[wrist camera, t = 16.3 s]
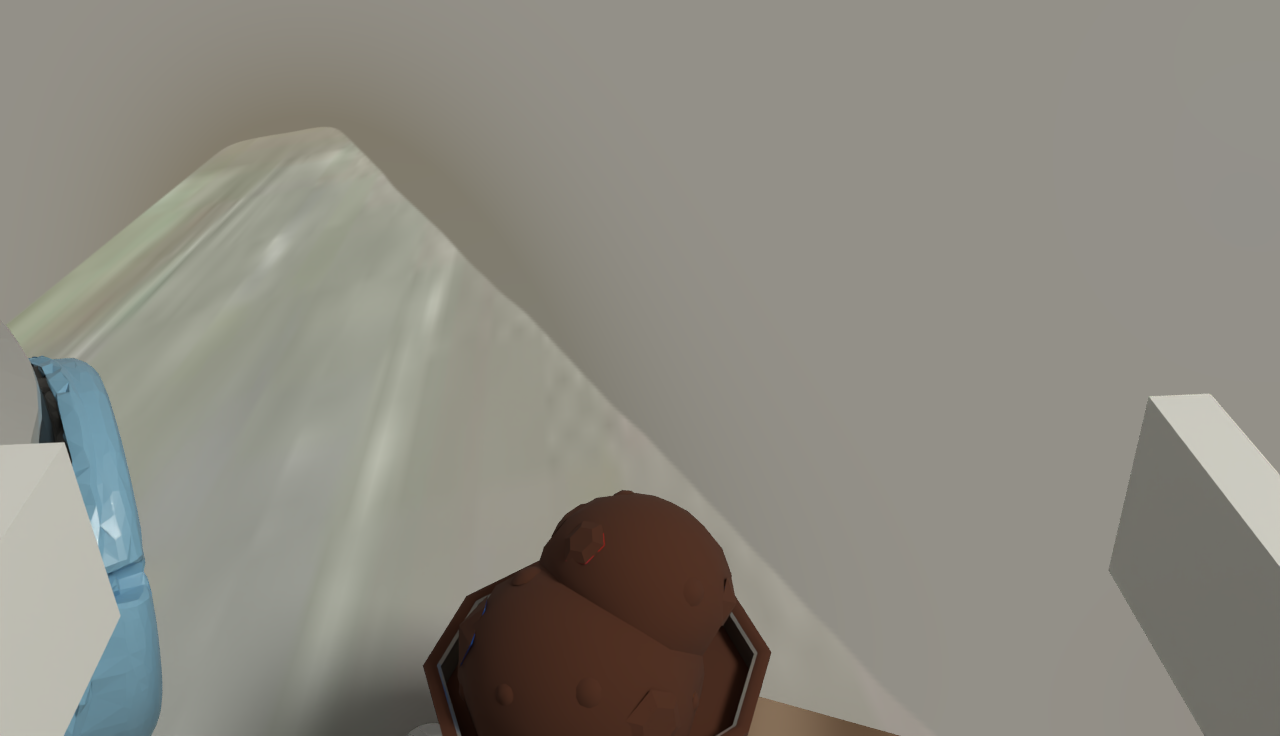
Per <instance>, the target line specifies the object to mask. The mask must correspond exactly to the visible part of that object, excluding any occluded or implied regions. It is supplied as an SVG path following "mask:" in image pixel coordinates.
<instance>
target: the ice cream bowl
mask: <svg viewBox="0 0 1280 736" xmlns="http://www.w3.org/2000/svg"><path fill="white" fill-rule="evenodd" d="M731 577H732V575H731V572H730V569H729V566H728V564H727V561H726V558H725V555H724V552H723V550H722V548H721V547H720V545H719V544H718V543H717V542H716V541H715V539H714V538H713V537H712V536H711V534H710V533H709V532H708V531H707V529H706V528H705V527H704V526H703V525H702V524H701V523H700V522H699V521H698V520H697V519H696V518H695V517H694V516H693V515H691V514H690V513H689V512H688V511H686V510H684V509H682V508H681V507H679V506H677V505H675V504H673V503H671V502H669V501H666V500H664V499H661V498H659V497H656V496H652V495H645V494H639V493H634V492H632V491H626V490H622V491H620V492H618V493H616V494H614V496H608V497H600V498H596V499H594V500H592V501H590V502H589V503H587V504H581V505H579V506H577V507H576V508H575V509H573V510H572V511H570V512H569V513H567V514H566V515H565V516H564V517H563V518H562V520H561V521H560V522H559V523H558V525H557V527H556V529H555V531H554V533H553V535H552V538H551V539H550V540H549V542H548V543H547V544H546V545H545V547H544V549H543V552H542V555H541V558H540V561H538V562H535V563H533V564H531V565H529V566H527V567H525V568H523V569H521V570H519V571H517V572H515V573H513V574H511V575H509V576H507V577H505V578H503V579H501V580H499V581H497V582H494V583H492V584H490V585H488V586H486V587H484V588H482V589H480V590H478V591H476V592H474V593H472V594H470V595H468V596H466V598H465V599H464V601H463V603H462V604H461V606H460V607H459V609H458V611H457V612H456V614H455V615H454V617H453V619H452V620H451V622H450V623H449V625H448V627H447V628H446V630H445V631H444V633H443V635H442V636H441V638H440V639H439V641H438V643H437V644H436V646H435V647H434V649H433V651H432V652H431V654H430V655H429V657H428V659H427V660H426V662H425V664H424V665H423V667H424V671H425V675H426V678H427V682H428V685H429V689H430V693H431V696H432V700H433V703H434V707H435V711H436V714H437V718H438V721H439V725H440V729H441V732H442V736H748V733H749V729H750V726H751V722H752V719H753V715H754V712H755V708H756V705H757V701H758V698H759V694H760V690H761V687H762V683H763V680H764V676H765V673H766V669H767V666H768V662H769V659H770V655H771V651H770V649H769V648H768V646H767V645H766V643H765V642H764V640H763V639H762V637H761V635H760V634H759V632H758V631H757V629H756V628H755V626H754V625H753V623H752V621H751V620H750V618H749V617H748V615H747V614H746V612H745V610H744V609H743V607H742V606H741V604H740V603H739V601H738V600H737V598H736V596H735V594H734V589H733V584H732V579H731Z"/></svg>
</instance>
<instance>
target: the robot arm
mask: <svg viewBox="0 0 1280 736" xmlns="http://www.w3.org/2000/svg"><path fill="white" fill-rule="evenodd" d="M144 567H145V557H144V553H143V548H142V535H141V527H140V522H139V517H138V511H137V507H136V502H135V497H134V492H133V488H132V483H131V479H130V474H129V470H128V466H127V462H126V458H125V453H124V449H123V445H122V441H121V437H120V434H119V430H118V426H117V423H116V419H115V416H114V413H113V410H112V406H111V403H110V400H109V397H108V394H107V392H106V389H105V387H104V384H103V382H102V380H101V378H100V376H99V374H98V373H97V372H96V370H95V369H94V368H93V367H92V366H90V365H88V364H87V363H86V362H83V361H80V360H78V359H75V358H65V359H53V360H52V359H50V358H47V357H44V356H40V357H32V358H28V357H27V356H26V354H25V352H24V351H23V349H22V347H21V346H20V344H19V343H18V341H17V340H16V338H15V337H14V335H13V334H12V333H11V331H10V330H9V328H8V327H7V326H6V325H5V324H4V323H3V322H2V321H0V736H151V735H152V733H153V731H154V729H155V727H156V724H157V721H158V719H159V715H160V711H161V703H162V668H161V657H160V647H159V638H158V630H157V622H156V616H155V610H154V604H153V598H152V593H151V589H150V585H149V582H148V578H147V576H146V575H145V573H144ZM1109 572H1110V574H1111V575H1112V577H1113V579H1114V581H1115V582H1116V584H1117V586H1118V587H1119V589H1120V591H1121V593H1122V594H1123V596H1124V598H1125V599H1126V601H1127V603H1128V605H1129V606H1130V608H1131V610H1132V612H1133V613H1134V615H1135V617H1136V619H1137V620H1138V622H1139V623H1140V625H1141V627H1142V629H1143V631H1144V632H1145V634H1146V636H1147V637H1148V639H1149V641H1150V643H1151V644H1152V646H1153V648H1154V649H1155V651H1156V653H1157V655H1158V656H1159V658H1160V660H1161V662H1162V663H1163V665H1164V667H1165V668H1166V670H1167V672H1168V674H1169V675H1170V677H1171V679H1172V680H1173V682H1174V684H1175V686H1176V688H1177V689H1178V691H1179V693H1180V694H1181V696H1182V698H1183V700H1184V701H1185V703H1186V705H1187V707H1188V708H1189V710H1190V712H1191V713H1192V715H1193V717H1194V718H1195V720H1196V722H1197V724H1198V725H1199V727H1200V729H1201V731H1202V732H1203V734H1204V736H1280V475H1279V473H1277V471H1276V470H1275V469H1274V468H1273V466H1272V465H1271V464H1270V463H1269V462H1268V461H1267V459H1266V458H1265V457H1264V456H1263V455H1262V453H1261V452H1260V451H1259V450H1258V449H1257V448H1256V447H1255V445H1254V444H1253V443H1252V442H1251V441H1250V439H1249V438H1248V437H1247V436H1246V435H1245V434H1244V432H1243V431H1242V430H1241V429H1240V428H1239V427H1238V425H1237V424H1236V423H1235V422H1234V421H1233V420H1232V418H1231V417H1230V416H1229V415H1228V414H1227V413H1226V411H1225V410H1224V409H1223V408H1222V407H1221V406H1220V404H1219V403H1218V402H1217V401H1216V400H1215V399H1214V398H1213V396H1212V395H1211V394H1194V395H1173V396H1171V395H1170V396H1149V398H1148V402H1147V406H1146V411H1145V415H1144V420H1143V424H1142V428H1141V433H1140V436H1139V441H1138V445H1137V450H1136V454H1135V458H1134V462H1133V467H1132V471H1131V475H1130V480H1129V484H1128V488H1127V492H1126V497H1125V501H1124V505H1123V510H1122V514H1121V518H1120V523H1119V527H1118V531H1117V536H1116V540H1115V544H1114V548H1113V553H1112V557H1111V562H1110V566H1109Z"/></svg>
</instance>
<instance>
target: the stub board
mask: <svg viewBox="0 0 1280 736" xmlns="http://www.w3.org/2000/svg"><path fill="white" fill-rule="evenodd" d="M406 736H442V732H441V729H440V725H439V723H428V724H423V725H420V726H418V727H416V728H414V729H413V730H411V731H410V732H409V733H408V734H407V735H406ZM748 736H899V735H895V734H891V733H888V732H884V731H881V730H877V729H873V728H870V727H866V726H863V725H859V724H856V723H852V722H848V721H845V720H841V719H838V718H834V717H830V716H827V715H823V714H820V713H816V712H812V711H809V710H805V709H802V708H798V707H794V706H791V705H787V704H784V703H780V702H776V701H773V700H769V699H766V698H762V697H759V698H758V701H757V705H756V708H755V712H754V715H753V719H752V722H751V726H750V729H749V733H748Z"/></svg>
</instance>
